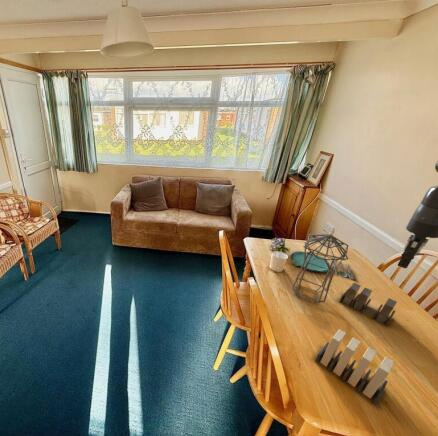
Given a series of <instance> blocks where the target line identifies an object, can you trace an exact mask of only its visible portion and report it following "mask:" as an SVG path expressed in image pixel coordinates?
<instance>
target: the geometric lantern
mask: <svg viewBox="0 0 438 436" xmlns="http://www.w3.org/2000/svg"><path fill="white" fill-rule="evenodd" d="M311 237H312V238H311ZM322 241H323V242H322ZM318 243H319V245H318V246H316V247H315V248H314V249H313V248H311V247H313V246H315V245H316V244H318ZM326 243H327V245H326ZM343 246H346V247H345V248H344V247H343ZM324 247H325V248H326V252H325V253H323V252H321V250H322V249H323V248H324ZM303 248H304V252H305V253H304V262H303V265H302V267H301V266H300V269H299V272H298V274H297V275H296V278H295V280H294V282H293V285H292V288H291V290H292V291H293V292H294V293H295V294H296V297H298V298H300V297H302V298H305V299H307V300H309V301H313V303H314V304H317V303H324V302H326V299H327V296H328V293H329V291H330V287H331V284H332V281H333V278H334V274H335V269H336V270H337V268H338V267H339V266H340V263H342V261H347V260H349V257H348V255H347V253H348V249H349V244H347V243H346V242H344V241H342V240H340V239H339V238H337V237H335V236H334V235H332V234H328V233H323V234H322V233H321V234H320V233H319V234H307V240H306V242H305V241H304V246H303ZM333 248H336V249H337V251H338V253H339V254H340V256H336V255H334V252H333ZM307 250H308V251H307ZM329 250H330V252H331V254H332V255H330V254H329ZM309 253H311V256H310V258H309V260H308V262H307V260H306V259H307V257H308V254H309ZM312 255H314V256H315V257H316V258H315V259H317V258H318V259H322V260H325V262H326V264H327V267H328V269H327V268H324V267H321V266H318V265H315V264H312V263H309V262H310V259H311V257H312ZM317 256H321V257H322V258H319V257H317ZM323 258H324V259H323ZM315 259H313V260H315ZM326 260H327V261H331V263H330V264H329V265H330V267H329V266H328V263H329V262H328V263H327V261H326ZM311 261H312V260H311ZM338 261H339V263H338V264H337V262H338ZM305 262H307V263H306V266H305V268H303V266H304V264H305ZM333 262H335V264H334V263H333ZM308 264H312V265H315V266H318V267H321V268H324V269H327V270H328V272H326V274H325V276H324V279H323V281H322V283H321V285H320V284H318V283H316V282H313V281H310V280H307V279H304V275H305V273H306V271H307V269H306V268H307V266H308ZM332 266H333V267H332ZM335 267H336V268H335ZM302 270H303V271H302ZM330 272H331V273H330ZM301 273H302V274H301ZM300 275H301V277H300ZM329 275H330V277H329ZM298 280H299V282H298ZM302 281H304V282H307V283H310V284H312V285H315V286H317V287H318V288H317V289H316V290H315V289H312V288H310V287H306V286H303V285H302ZM296 284H297V289H296V290H295V289H294V288H295V286H296ZM326 285H327V286H326ZM301 288H304V289H308V290H311V291H314V292H313V293H314V294H316V299H315V298H313V297H310V296H308V295H306V294H303V293H301V292H300V291H299V290H300V289H301ZM321 288H322V289H321ZM320 289H321V291H319V290H320ZM324 292H325V293H324ZM319 293H320V295H319ZM323 294H324V296H323ZM322 297H323V299H322Z"/></svg>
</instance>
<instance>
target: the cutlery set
mask: <svg viewBox="0 0 438 436" xmlns="http://www.w3.org/2000/svg"><path fill="white" fill-rule="evenodd" d="M304 253H305V251H301V250H300V251H293V252H292V253H291V255H290V260H292V264H293V265H294V266H295V267H298V266H299V267H300V268H301V267H302V265H303V262H304ZM311 254H312V253H309V254H308V257H307V259H306V260H307V262H308V260H309V258H310V256H311ZM317 257H319V258H323V259H324V257H323V256H321V255H318V256H317ZM315 258H316V257H315V256H314V255H312V257H311V259H310V262H309V263H312V264H315V265H318V266H321V267H324V268H327V269H328V267H327V264H326V262H325V260H322V259H318V258H317V259H315ZM313 259H315V260H313ZM311 260H312V261H311ZM326 261H327V263H328V266H329V267H330V265H331V264H330V263H329V260H326ZM307 262H305V264H304V266H303V269H304V268H305V266H306V263H307ZM339 263H340V262H339ZM312 264H308V266H307V268H306V270H308V271H311V272H316V273H327V272H328V270H327V269H324V268H321V267H318V266H315V265H312ZM334 264H335V261H334V262H333V265H334ZM339 266H340V269H341V271H339V275H340V276H341V277H342V278H347V277H349V279H350V280H352V281H353V280H354V274H353V273H352V272H351V268H350V264H347V266H346V267H347V270H348V271H347V272H348V273H346V272H345V271H344V270H343V269H344V268H343V263H342V262H341V263H340V264H339ZM336 267H337V266H336ZM336 267H335V268H336ZM334 274H335V275H336V276H338V272H337V268H336V269H335V272H334Z"/></svg>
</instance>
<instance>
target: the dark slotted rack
mask: <svg viewBox="0 0 438 436" xmlns="http://www.w3.org/2000/svg"><path fill="white" fill-rule="evenodd" d="M346 334H347V333H346V332H345V331H343V330H341V329H340V328H339V329H338V330H337V331H336V332H335V334H334V335H333V336H332V338H331V339H330V342H329V341H327V342H326V343H325V345H324V346H323V347H322V348H321V349H320V351H319V352H317V355H316V357H315V360H314V362H316V363H318V361H319V360H320V359H321V360H320V361H319V362H320V364H322V365H323V366H324V367H328V366H329V367H328V368H327V371H328V372H331V370H332V369H333V368H334V367H335V366H336V364H337V363H338V361H339V360H340V358H341V356H342V354H343V351H342V350H339V348H340V346H341V344H342V342H343V340H344V338H345V336H346ZM338 350H339V352H338V353H337V351H338ZM377 352H378V351H377V350H375V349H373V348H372V347H371V346H368V347H367V349H366V350H365V352H364V353H363V355H362V357H361V359H360V360H359V362H358V363H357V360H356V359H353V360H352V362H351V364H350V365H349V367H348V368H347V370H346V371H345V373H344V375H343V377H342V378H341V382H345V380H346V379H347V377H348V375H349V374H350V373H351V370H352V369H353V367H354V366H355V364H356V363H357V365H356V367H355V368H354V370H353V371H352V373H351V374H350V376H349V378H348V379H347V381H346V382H347V383H348V384H349V385H351V386H352V387H353V388H355V387H356V386H357V384H358V383H359V381H360V380H361V378H362V377H363V378H362V380H361V382H360V383H359V385H358V387H357V388H356V392H357V393H360V392H361V390H362V389H363V387H364V385H365V384H366V385H365V387H364V389H363V391H362V394H363V395H364V396H366V397H367V398H369V399H372V398H373V396H374V395H375V394H376V395H375V396H374V399H373V400H372V404H373V405H376V404H377V403H378V402H379V400H380V399H381V397H382V395H383V393H384V391H385V389H386V387H387V384H388V380H387V379H386V378H387V377H388V375H389V374H390V372H391V370H392V368H393V366H394V363H395V361H394V360H392V359H391V358H389V357H387V356H384V358H383V359H382V361H381V363H380V364H379V365H378V367H377V368H376V369H375V372H373V374H372V376H371V377H370V379H369V376H370V374H371V372H372V370H371V369H368V368H369V366H370V365H371V364H372V361H373V359H374V358H375V356H376V354H377ZM336 353H337V354H336ZM330 362H331V363H330ZM329 364H330V365H329ZM367 369H368V370H367ZM365 372H366V373H365ZM368 379H369V380H368ZM367 380H368V382H367ZM366 382H367V383H366Z"/></svg>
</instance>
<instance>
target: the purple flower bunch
mask: <svg viewBox="0 0 438 436" xmlns="http://www.w3.org/2000/svg"><path fill="white" fill-rule="evenodd" d="M270 242H271V244H270V250H274V249H275V250H276V251H279V252H283V253H285V254H286V253H287V252H290V251H291V248H288V247H286V238H282V237H279V238H278V237H274V238H271V240H270Z"/></svg>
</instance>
